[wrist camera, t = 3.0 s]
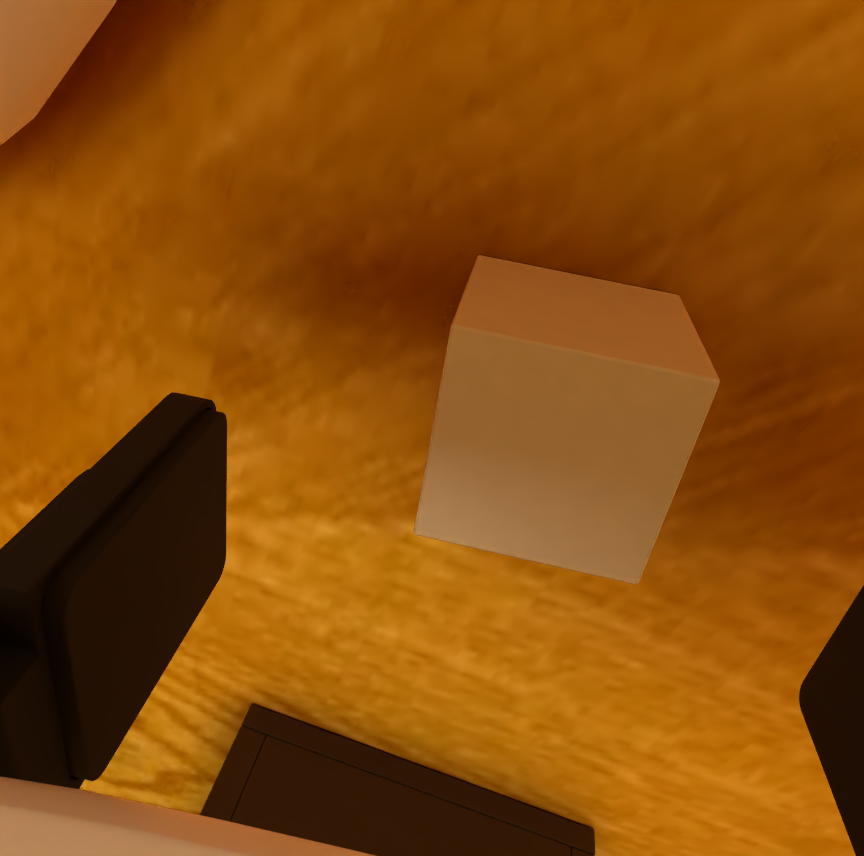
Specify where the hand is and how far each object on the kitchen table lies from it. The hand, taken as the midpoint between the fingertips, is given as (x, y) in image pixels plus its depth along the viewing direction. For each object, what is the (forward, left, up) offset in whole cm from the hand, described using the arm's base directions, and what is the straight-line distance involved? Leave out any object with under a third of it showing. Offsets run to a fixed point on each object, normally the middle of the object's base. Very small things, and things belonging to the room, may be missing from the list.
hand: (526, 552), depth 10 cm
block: (0, 0, -7) cm, 7 cm away
